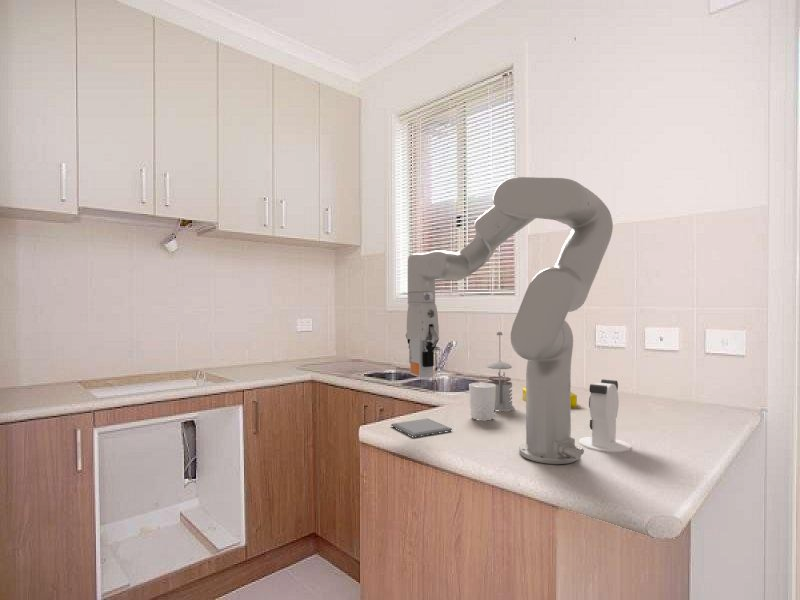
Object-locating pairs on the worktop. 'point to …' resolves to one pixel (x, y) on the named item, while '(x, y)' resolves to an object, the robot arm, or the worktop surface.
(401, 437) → the worktop surface
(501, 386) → the french press
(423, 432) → the tray
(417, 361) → the skincare box
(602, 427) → the panda figurine
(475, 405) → the white cup
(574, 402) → the element tile
